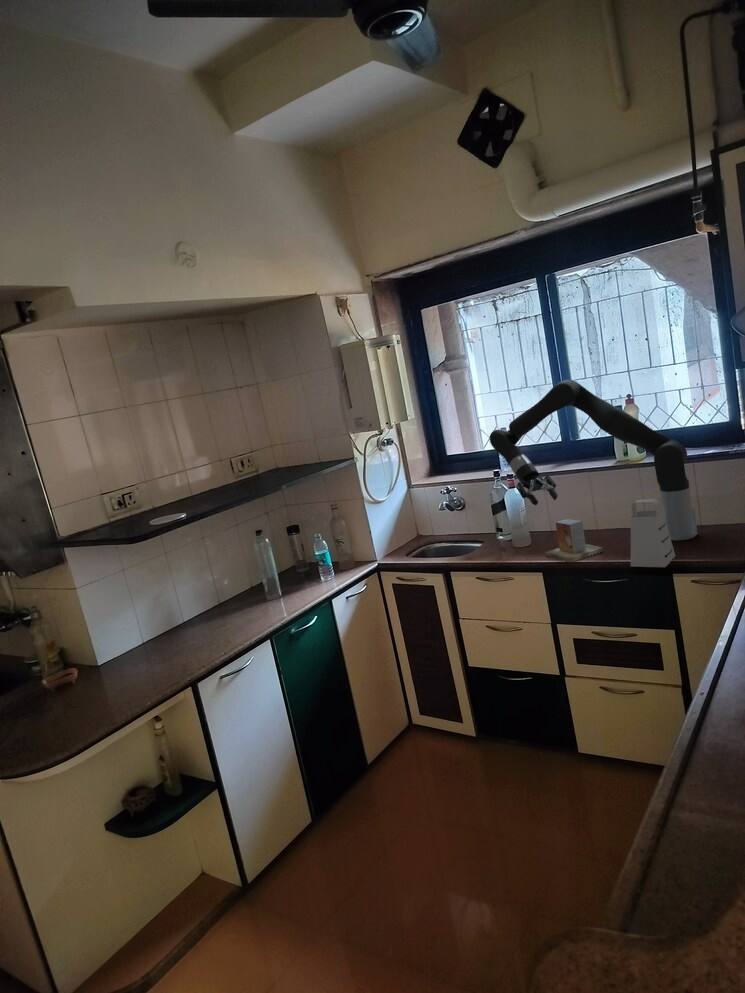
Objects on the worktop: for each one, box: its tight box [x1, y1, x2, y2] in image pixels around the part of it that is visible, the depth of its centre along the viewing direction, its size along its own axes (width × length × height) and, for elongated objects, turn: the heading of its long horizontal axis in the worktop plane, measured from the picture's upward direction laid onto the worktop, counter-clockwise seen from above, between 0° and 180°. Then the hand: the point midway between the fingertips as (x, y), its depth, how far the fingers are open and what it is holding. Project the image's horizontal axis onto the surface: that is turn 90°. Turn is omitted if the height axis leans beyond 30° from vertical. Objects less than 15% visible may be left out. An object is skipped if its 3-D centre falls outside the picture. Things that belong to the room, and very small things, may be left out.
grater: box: [630, 498, 676, 568], centre depth 209 cm, size 10×10×20 cm
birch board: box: [545, 543, 604, 563], centre depth 235 cm, size 14×14×2 cm
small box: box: [555, 518, 586, 553], centre depth 234 cm, size 8×6×10 cm
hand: (546, 501), depth 243 cm, fingers open, 8 cm apart
